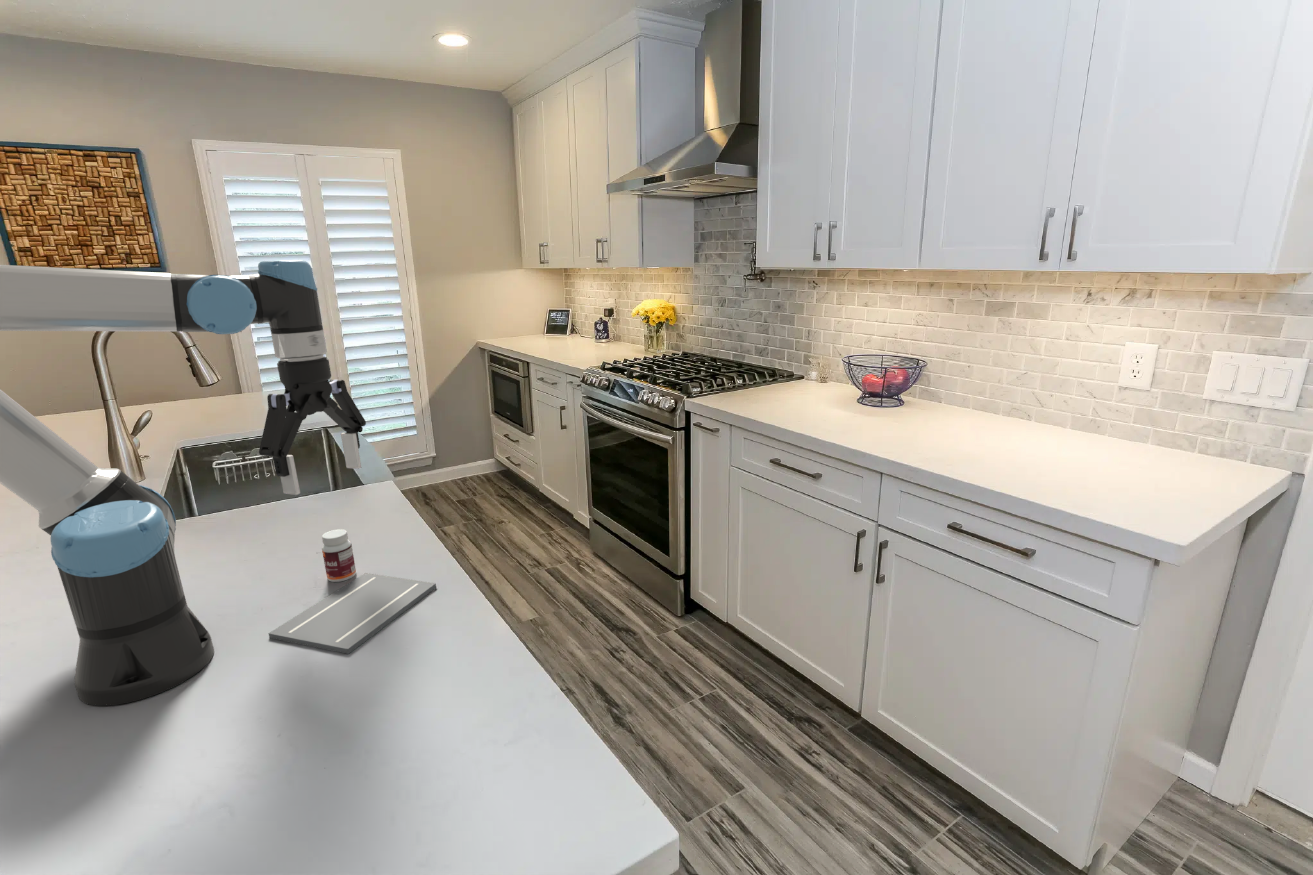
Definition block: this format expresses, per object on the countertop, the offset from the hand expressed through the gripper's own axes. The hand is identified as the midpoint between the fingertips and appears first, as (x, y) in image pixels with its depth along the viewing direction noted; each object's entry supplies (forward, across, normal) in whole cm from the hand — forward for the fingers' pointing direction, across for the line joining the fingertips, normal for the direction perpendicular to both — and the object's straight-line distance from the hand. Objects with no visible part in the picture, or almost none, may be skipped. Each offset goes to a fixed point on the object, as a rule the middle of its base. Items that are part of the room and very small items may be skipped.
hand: (324, 480), depth 110 cm
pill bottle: (+19, 0, 0) cm, 19 cm away
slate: (+18, -9, -12) cm, 24 cm away
